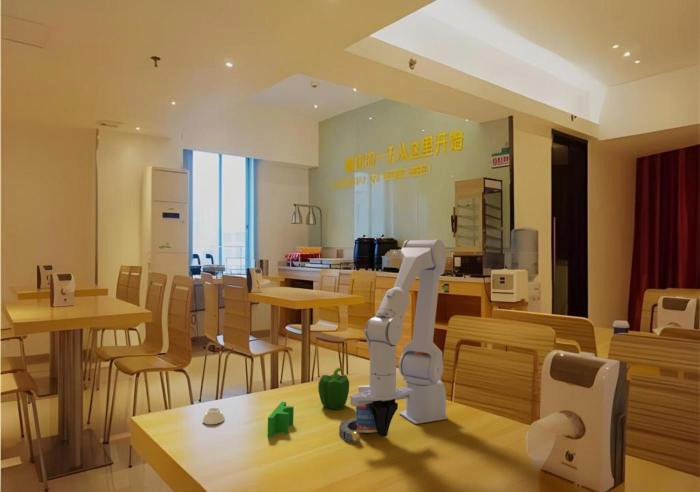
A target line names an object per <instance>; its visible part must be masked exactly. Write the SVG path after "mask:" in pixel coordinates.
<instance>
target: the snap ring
mask: <svg viewBox="0 0 700 492" xmlns="http://www.w3.org/2000/svg"><path fill="white" fill-rule="evenodd" d="M338 429H339V431H338V432H339V434H338V435H339V437H340V439H342V440H344V441H345V442H349V443H351V444H352V445H360V444H361V432H360V431H357V418H356V417H353V418H352V417H351V418H348V419H346V420H345V419H344V421H341V422H340V424H339V428H338ZM354 429H355V430H354Z"/></svg>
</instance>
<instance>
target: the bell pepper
mask: <svg viewBox="0 0 700 492" xmlns="http://www.w3.org/2000/svg"><path fill="white" fill-rule="evenodd" d="M341 371H343V367H340V366H338V367H337V368H335V370H334V371H333V374H331V375H327V374H324V375H321V377H320V379H319V381H318V382H317V383H318V395H319V399H320V402H321V404H322V406H323V408H327V409H333V410H342V409H344V408H345V405H346V403H347V401H348V398H349V392H350V380H349V378H348V376H347V374H342V375H341V374H339V373H338V372H341Z"/></svg>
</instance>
